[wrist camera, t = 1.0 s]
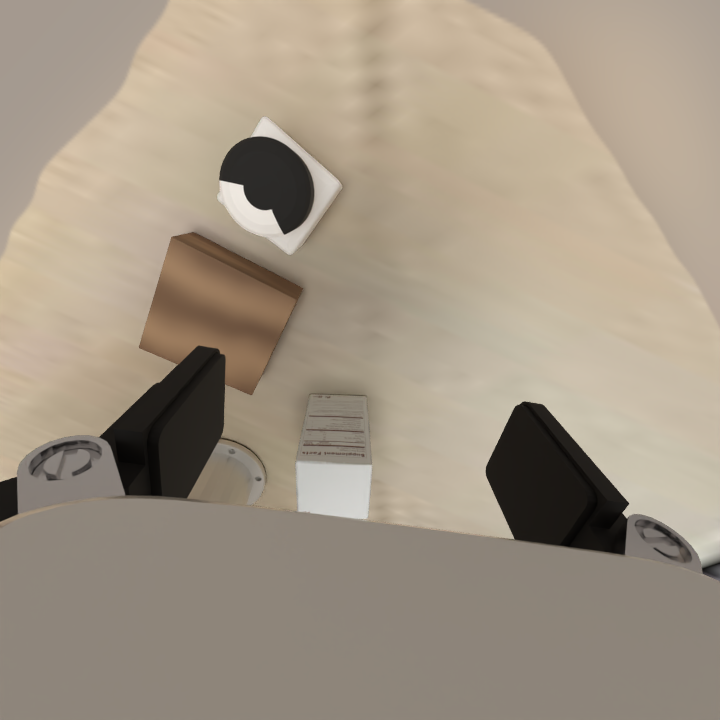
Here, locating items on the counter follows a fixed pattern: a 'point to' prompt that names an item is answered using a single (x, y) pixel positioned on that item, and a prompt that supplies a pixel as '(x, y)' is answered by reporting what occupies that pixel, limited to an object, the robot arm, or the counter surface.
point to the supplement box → (335, 457)
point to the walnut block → (218, 309)
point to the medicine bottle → (275, 187)
